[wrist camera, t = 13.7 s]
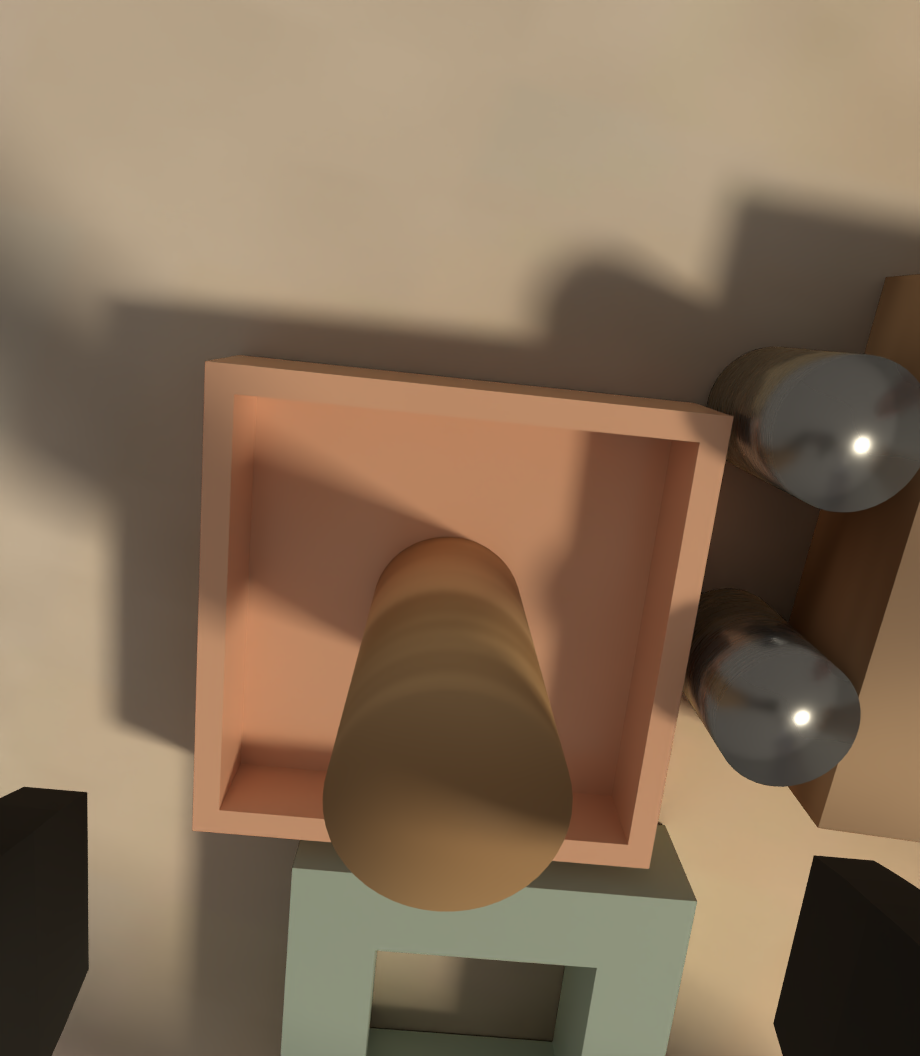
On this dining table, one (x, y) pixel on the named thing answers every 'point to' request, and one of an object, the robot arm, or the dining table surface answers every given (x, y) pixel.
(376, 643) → the dowel
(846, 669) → the brown wooden block
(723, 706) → the cylinder
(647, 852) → the dish
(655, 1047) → the socket block
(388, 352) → the dining table surface
